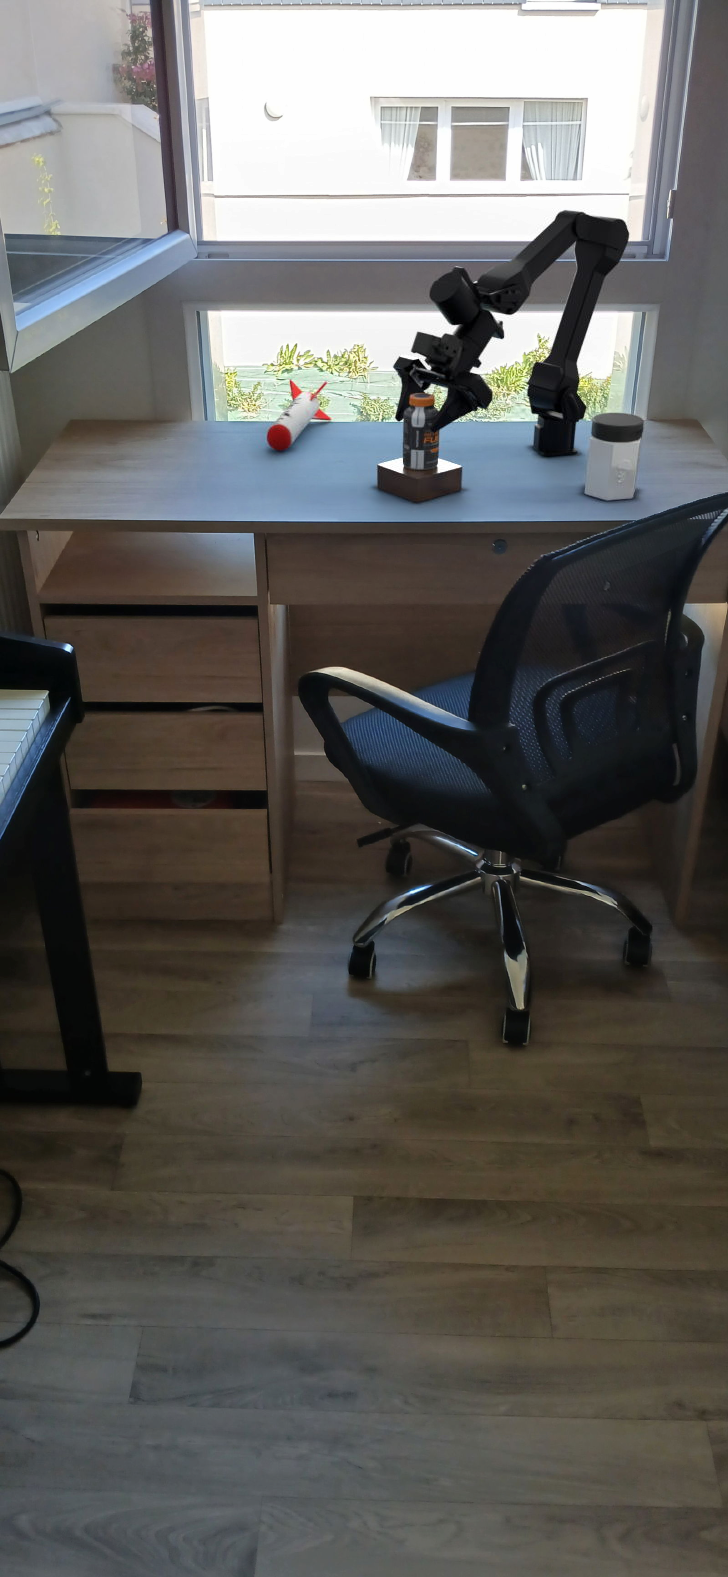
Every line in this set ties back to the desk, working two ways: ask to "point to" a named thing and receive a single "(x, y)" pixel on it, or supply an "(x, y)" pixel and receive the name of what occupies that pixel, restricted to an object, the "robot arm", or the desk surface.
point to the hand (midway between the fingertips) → (414, 425)
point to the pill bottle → (420, 433)
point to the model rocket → (295, 418)
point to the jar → (614, 456)
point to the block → (419, 480)
